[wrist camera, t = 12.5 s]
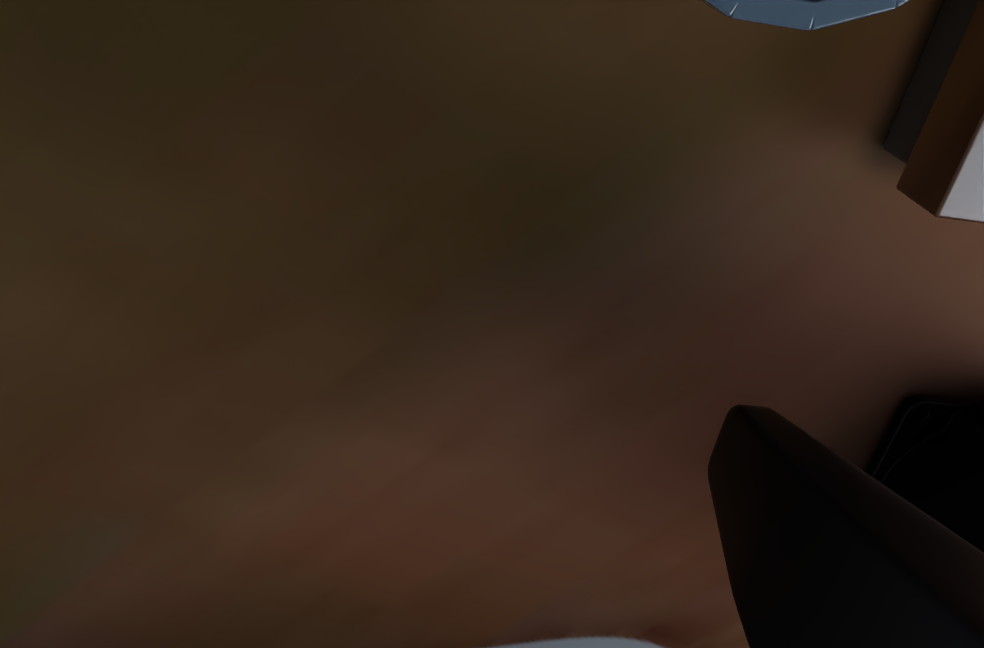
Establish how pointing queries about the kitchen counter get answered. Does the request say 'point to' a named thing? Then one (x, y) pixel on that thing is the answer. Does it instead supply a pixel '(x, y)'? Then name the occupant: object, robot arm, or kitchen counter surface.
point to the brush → (946, 118)
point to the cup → (801, 11)
